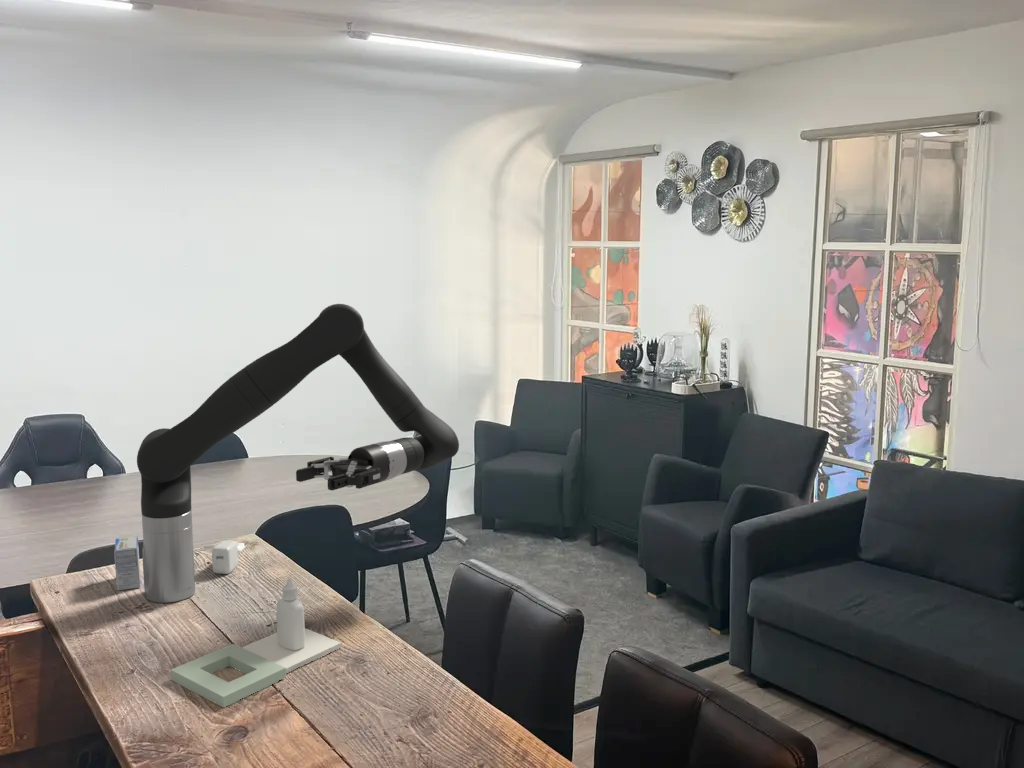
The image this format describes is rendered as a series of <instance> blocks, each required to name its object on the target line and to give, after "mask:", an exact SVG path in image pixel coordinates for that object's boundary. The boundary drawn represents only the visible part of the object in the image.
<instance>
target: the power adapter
mask: <svg viewBox="0 0 1024 768" xmlns="http://www.w3.org/2000/svg"><path fill="white" fill-rule="evenodd" d="M246 544H247V541H246V540H244V541H242V542H238V541H236V540H224V539H223V540H221V541H220V542H218V543H216V545H214V546H213V548H212V550H211V563H212V566H211V567H212V571H213V573H214V574H219V575H224V574H225V575H228V574H230V573H231V572H233V571H234V570H235V569H236V568H237V567H238V565H239V555H240V554H241V553H242V552H243V551H244V550H245V548H246Z"/></svg>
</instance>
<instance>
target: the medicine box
mask: <svg viewBox="0 0 1024 768" xmlns="http://www.w3.org/2000/svg"><path fill="white" fill-rule="evenodd" d="M114 543H115V544H114V552H113V553H114V554H113V555H114V567H115V570H114V571H115V580H116V590H117V591H126V590H133V589H140V588H141V567H140V566H141V565H140V564H141V563H140V551H139V538H138V536H137V535H134V536H124V537H117V538H115V542H114Z"/></svg>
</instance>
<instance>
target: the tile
mask: <svg viewBox="0 0 1024 768" xmlns="http://www.w3.org/2000/svg"><path fill="white" fill-rule="evenodd" d="M241 648H243V649H246V650H248V651H250V652H252V653H254V654H256V655H259V656H261V657H263V658H265V659H267V660H270V661H272V662H274V663H276V664H278V665H281V666H283V667H285V668H286V673H288V672H290V671H292V670H294V669H296V668H298V667H300V666H302V665H304V664H306V663H309V662H311V661H313V660H315V659H317V658H319V657H321V656H323V655H325V654H328V653H329V652H332V651H334V650H336V649H338V650H340V649H342V642H340V641H337V640H335V639H332V638H331V637H328V636H326V635H323V634H321V633H318V632H315V631H313V630H311V629H308V628H306V627H305V646H304V647H303V648H301V649H298V650H289V649H286V648H284V647H282V646H281V645H280V644H279V643H278V636H277V632H275V633H271V635H268V636H266V637H263V638H260V639H259V640H256V641H254V642H251V643H249V644H247V645H244V646H243V647H242V646H241ZM339 648H340V649H339ZM336 651H337V650H336ZM334 652H335V651H334ZM332 653H333V652H332ZM328 655H329V654H328ZM321 658H322V657H321ZM319 659H320V658H319ZM317 660H318V659H317ZM315 661H316V660H315ZM313 662H314V661H313ZM311 663H312V662H311ZM309 664H310V663H309ZM300 668H301V667H300ZM298 669H299V668H298ZM296 670H297V669H296ZM294 671H295V670H294ZM292 672H293V671H292ZM290 673H291V672H290ZM288 674H289V673H288Z"/></svg>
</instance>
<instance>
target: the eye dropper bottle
mask: <svg viewBox="0 0 1024 768" xmlns="http://www.w3.org/2000/svg"><path fill="white" fill-rule="evenodd" d="M281 590H282V598H279V600H277V602H276V629H277V631H276V633H277V636H278V643H279V644H280V645H281V646H282V647H284V648H286V649H289V650H298V649H301V648H303V647H304V646H305V628H306V627H305V625H306V624H305V609H304V605H303V603H302V602H301V600H299V598H298V587H297V585H295V584H293V580H292V578H288V579H287V580H286V584H285V585H284V586H282V589H281Z"/></svg>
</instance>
